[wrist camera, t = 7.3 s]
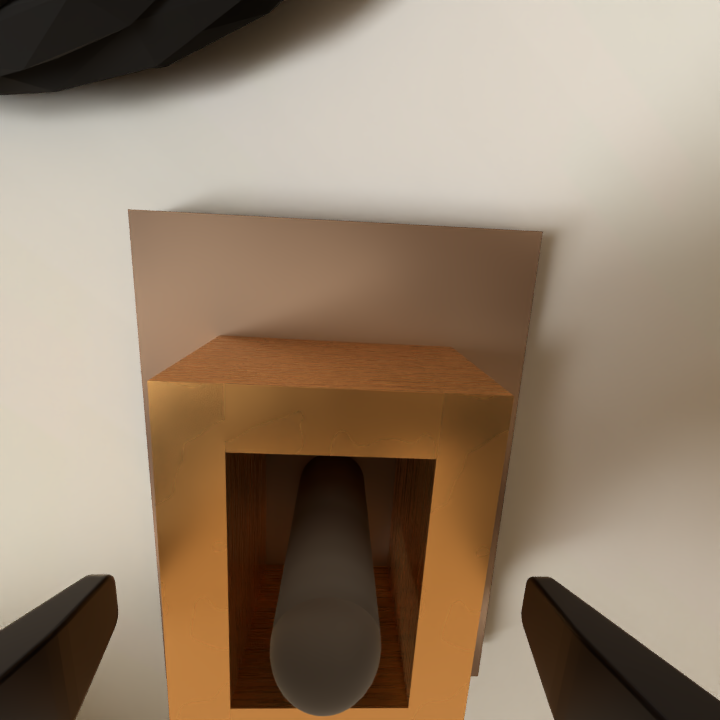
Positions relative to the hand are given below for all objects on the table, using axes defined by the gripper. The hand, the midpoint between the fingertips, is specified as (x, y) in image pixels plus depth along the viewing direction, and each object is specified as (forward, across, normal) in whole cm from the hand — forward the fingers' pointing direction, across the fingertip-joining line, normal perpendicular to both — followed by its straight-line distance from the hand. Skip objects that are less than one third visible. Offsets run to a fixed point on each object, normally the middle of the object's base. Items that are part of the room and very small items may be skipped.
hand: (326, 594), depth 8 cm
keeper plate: (+5, 0, 0) cm, 5 cm away
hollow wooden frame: (+4, 0, 0) cm, 4 cm away
